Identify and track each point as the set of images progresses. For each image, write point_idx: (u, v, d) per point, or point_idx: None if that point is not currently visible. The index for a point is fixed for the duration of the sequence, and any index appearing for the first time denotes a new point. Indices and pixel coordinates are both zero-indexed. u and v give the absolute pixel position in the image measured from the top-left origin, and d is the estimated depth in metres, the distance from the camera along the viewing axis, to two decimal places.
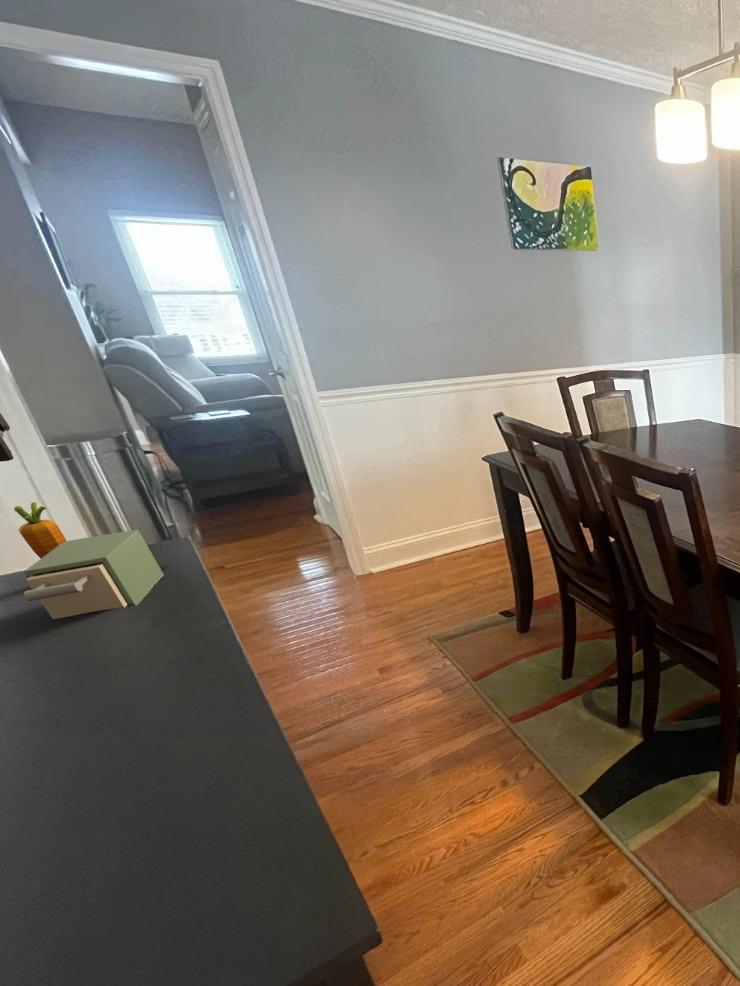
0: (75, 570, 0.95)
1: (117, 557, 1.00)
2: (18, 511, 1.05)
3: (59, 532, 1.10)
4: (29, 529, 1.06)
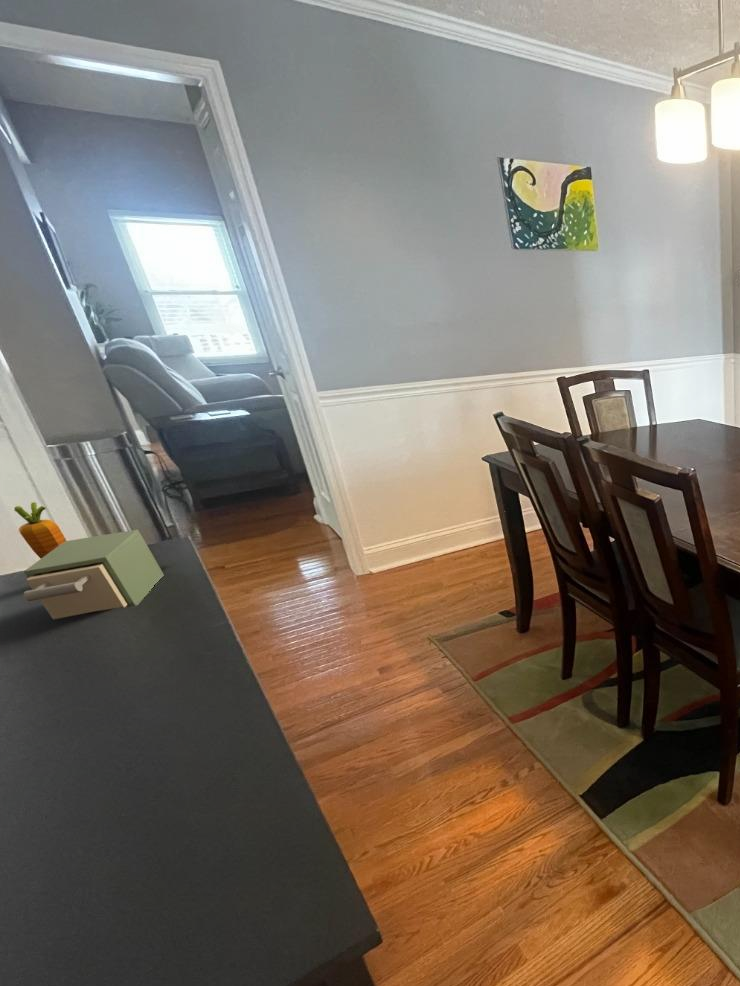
0: (75, 570, 0.95)
1: (117, 557, 1.00)
2: (18, 511, 1.05)
3: (59, 532, 1.10)
4: (29, 529, 1.06)
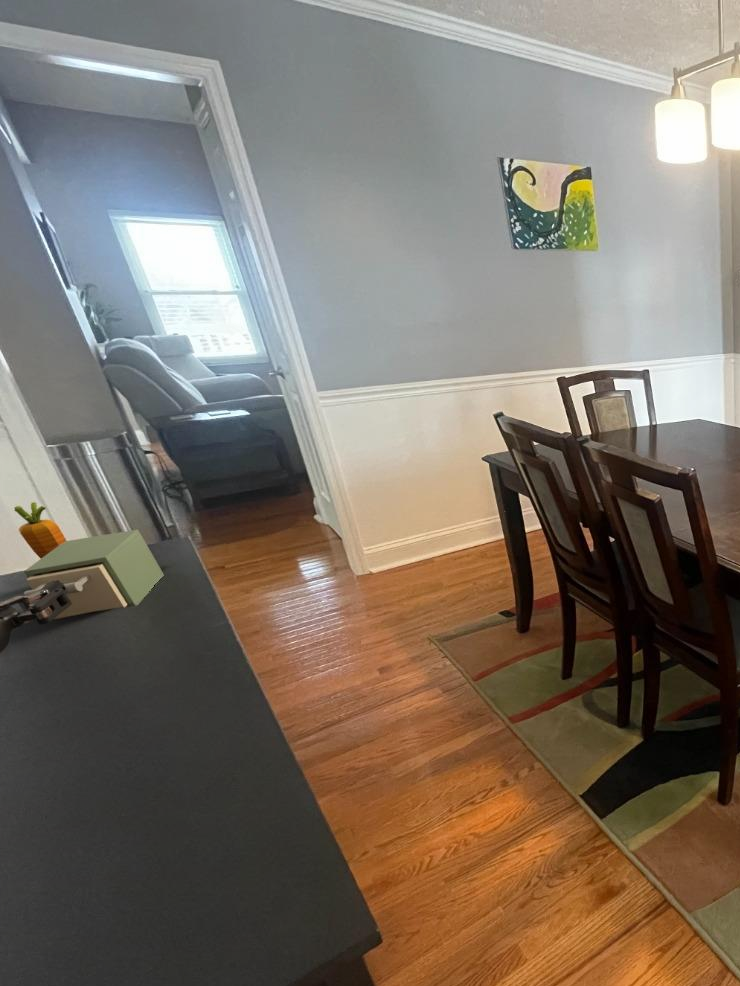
0: (75, 570, 0.95)
1: (117, 557, 1.00)
2: (18, 511, 1.05)
3: (59, 532, 1.10)
4: (29, 529, 1.06)
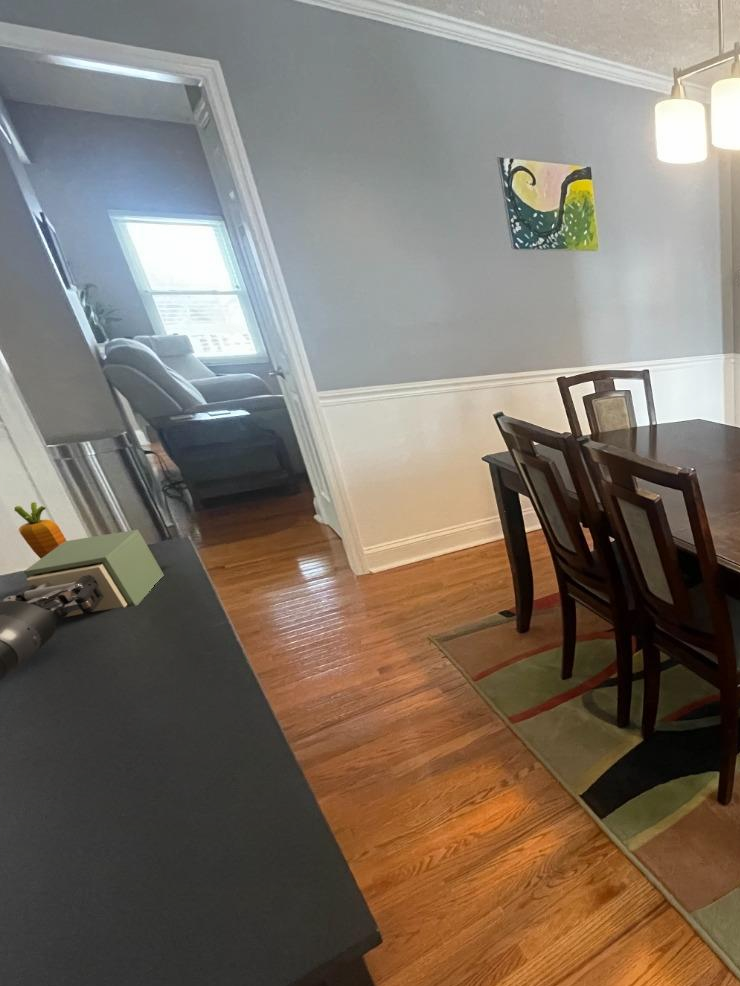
0: (75, 570, 0.95)
1: (117, 557, 1.00)
2: (18, 511, 1.05)
3: (59, 532, 1.10)
4: (29, 529, 1.06)
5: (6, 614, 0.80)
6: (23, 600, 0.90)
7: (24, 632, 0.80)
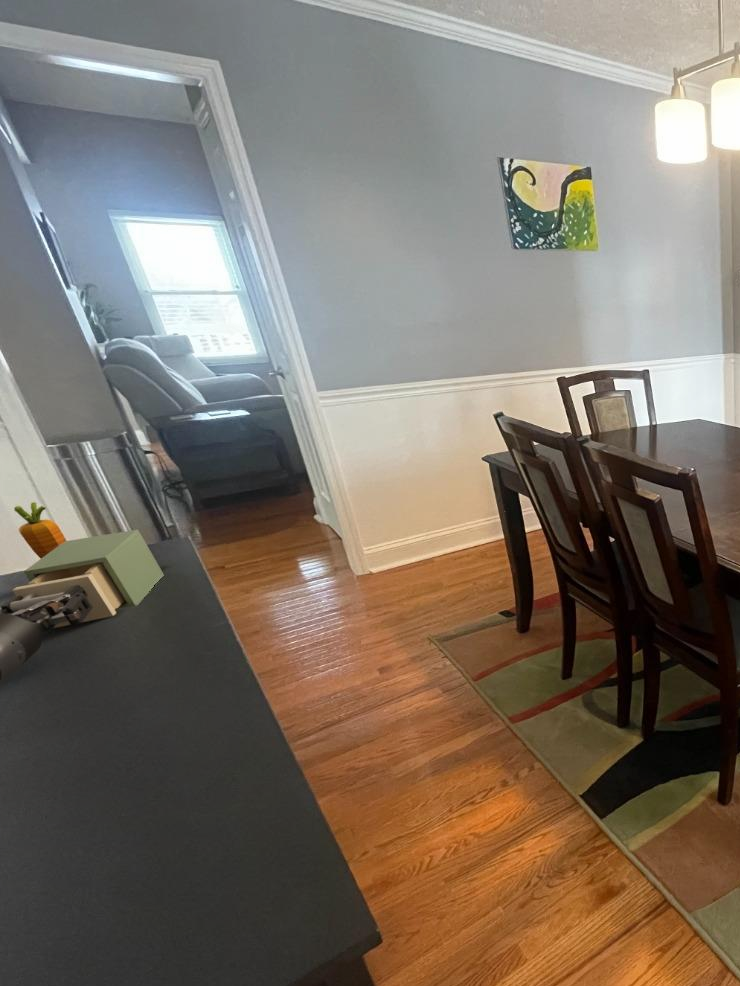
0: (63, 580, 0.92)
1: (117, 557, 1.00)
2: (18, 511, 1.05)
3: (59, 532, 1.10)
4: (29, 529, 1.06)
5: None
6: (9, 611, 0.87)
7: (8, 646, 0.77)
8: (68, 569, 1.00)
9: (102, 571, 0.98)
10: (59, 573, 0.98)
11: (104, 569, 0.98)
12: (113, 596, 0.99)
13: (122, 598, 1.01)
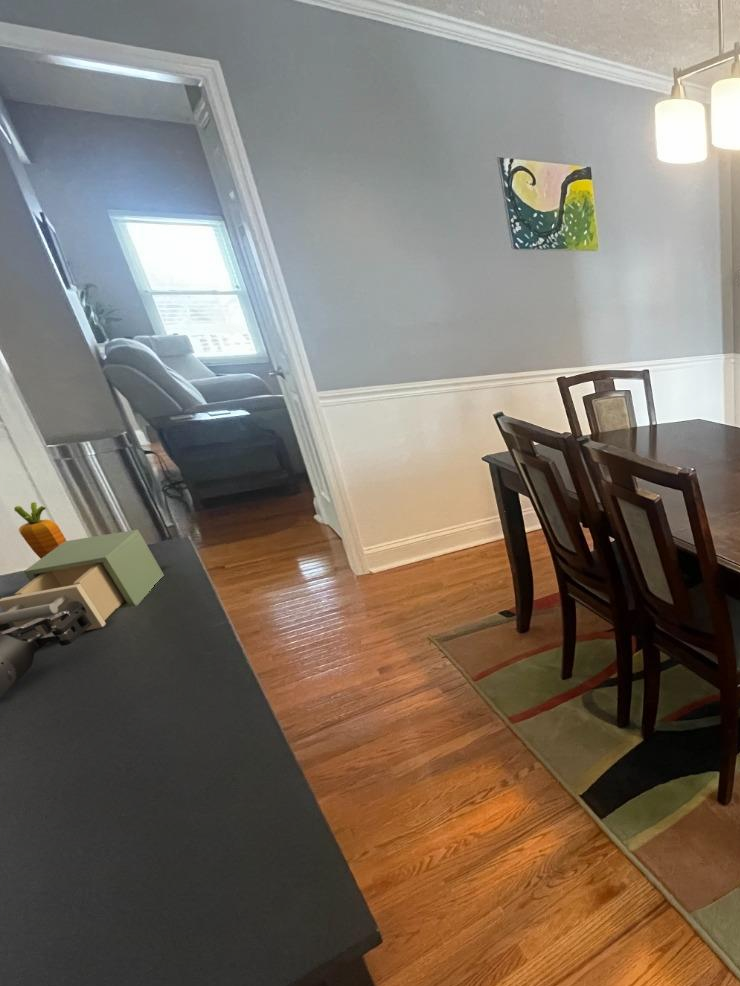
0: (51, 590, 0.89)
1: (117, 557, 1.00)
2: (18, 511, 1.05)
3: (59, 532, 1.10)
4: (29, 529, 1.06)
5: None
6: None
7: None
8: (56, 578, 0.97)
9: (91, 581, 0.95)
10: (47, 583, 0.95)
11: (93, 579, 0.95)
12: (103, 607, 0.96)
13: (112, 608, 0.98)
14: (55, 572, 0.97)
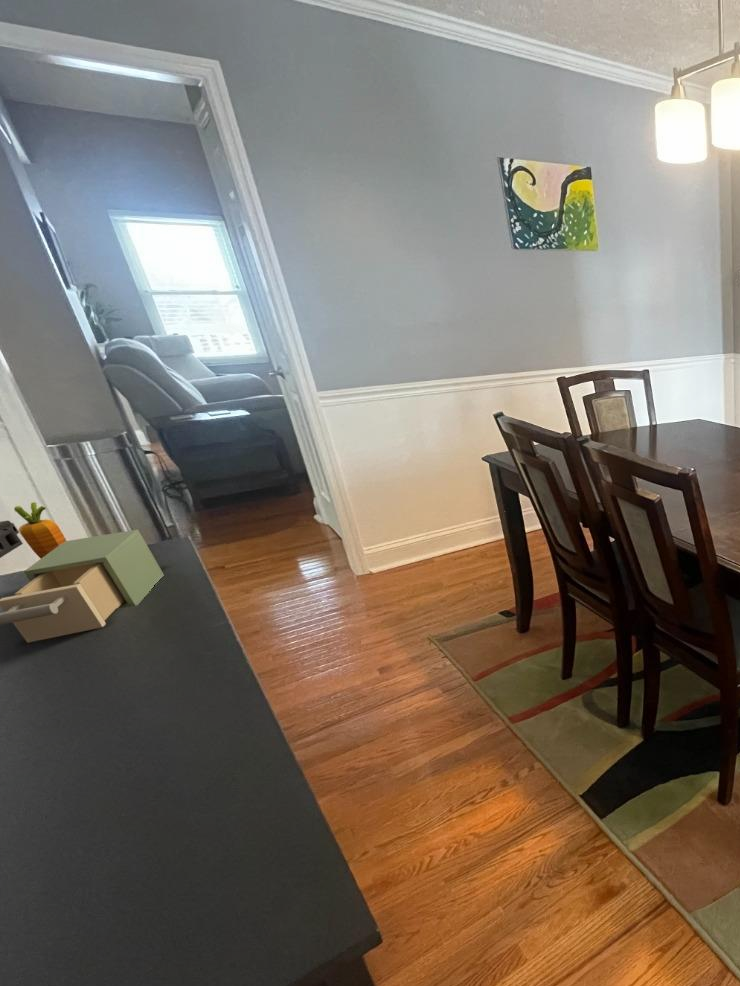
0: (51, 590, 0.89)
1: (117, 557, 1.00)
2: (18, 511, 1.05)
3: (59, 532, 1.10)
4: (29, 529, 1.06)
5: None
6: None
7: None
8: (56, 578, 0.97)
9: (91, 581, 0.95)
10: (47, 583, 0.95)
11: (93, 579, 0.95)
12: (103, 607, 0.96)
13: (112, 608, 0.98)
14: (55, 572, 0.97)
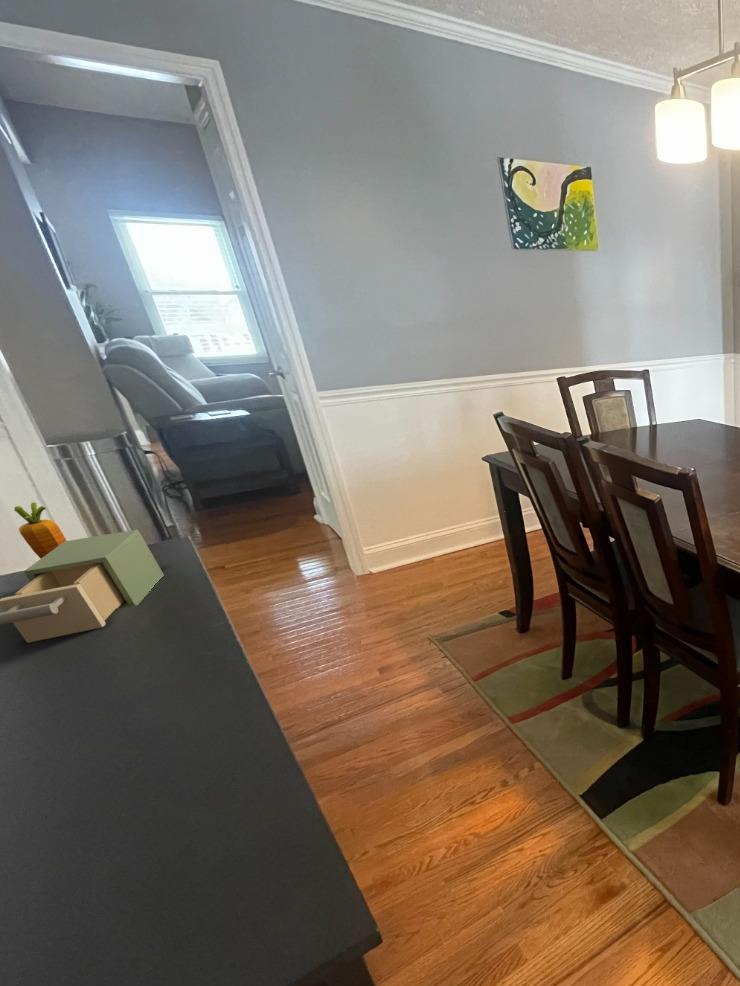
0: (51, 590, 0.89)
1: (117, 557, 1.00)
2: (18, 511, 1.05)
3: (59, 532, 1.10)
4: (29, 529, 1.06)
5: None
6: None
7: None
8: (56, 578, 0.97)
9: (91, 581, 0.95)
10: (47, 583, 0.95)
11: (93, 579, 0.95)
12: (103, 607, 0.96)
13: (112, 608, 0.98)
14: (55, 572, 0.97)
